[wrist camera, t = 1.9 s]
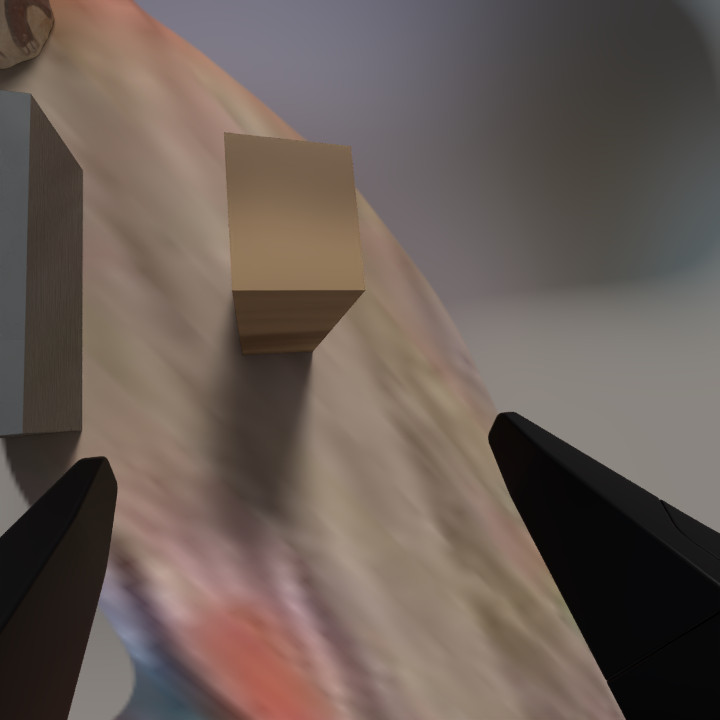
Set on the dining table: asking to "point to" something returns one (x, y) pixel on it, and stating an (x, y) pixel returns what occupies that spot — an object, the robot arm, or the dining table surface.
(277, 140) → the tan squared block
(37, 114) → the grey hollow block
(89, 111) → the dining table surface
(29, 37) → the figurine
